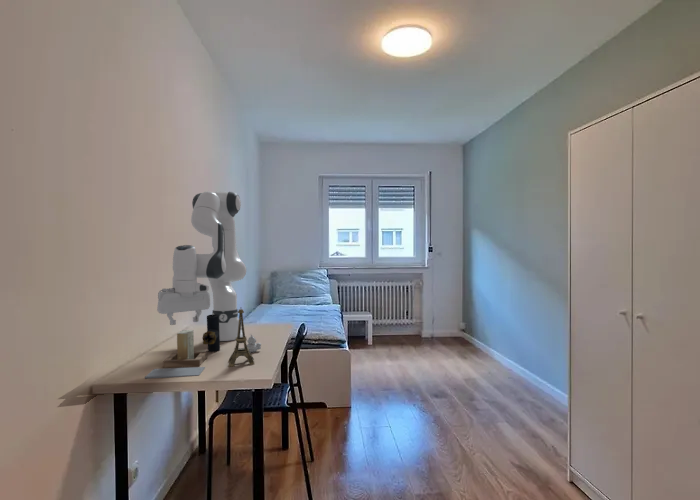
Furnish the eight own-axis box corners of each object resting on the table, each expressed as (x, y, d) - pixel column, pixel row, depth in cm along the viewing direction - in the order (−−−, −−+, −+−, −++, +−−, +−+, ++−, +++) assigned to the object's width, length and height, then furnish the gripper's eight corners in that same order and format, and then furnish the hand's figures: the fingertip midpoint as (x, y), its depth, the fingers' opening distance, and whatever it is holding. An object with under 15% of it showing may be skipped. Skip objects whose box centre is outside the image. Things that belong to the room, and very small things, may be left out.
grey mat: (154, 370, 164) (154, 368, 164) (205, 368, 166) (205, 366, 166) (144, 378, 154) (144, 377, 154) (199, 376, 156) (199, 374, 156)
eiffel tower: (227, 368, 165) (226, 301, 165) (227, 361, 175) (226, 297, 175) (256, 366, 168) (255, 300, 167) (254, 359, 178) (254, 296, 178)
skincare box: (183, 360, 177) (183, 329, 177) (194, 360, 177) (194, 329, 176) (176, 365, 170) (176, 333, 170) (188, 365, 170) (187, 333, 170)
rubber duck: (245, 351, 191) (245, 332, 191) (261, 350, 193) (261, 332, 192) (244, 354, 186) (244, 335, 186) (261, 353, 187) (261, 334, 187)
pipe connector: (215, 356, 185) (214, 321, 183) (202, 357, 184) (200, 321, 183) (221, 347, 196) (220, 314, 194) (209, 348, 196) (207, 314, 194)
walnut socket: (173, 359, 179) (172, 352, 179) (206, 357, 181) (206, 351, 181) (163, 368, 166) (163, 361, 166) (199, 366, 168) (199, 360, 168)
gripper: (162, 289, 163) (162, 327, 163) (212, 286, 178) (212, 321, 178) (154, 288, 167) (154, 325, 167) (203, 285, 183) (203, 319, 183)
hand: (184, 323), depth 173 cm, fingers open, 8 cm apart
